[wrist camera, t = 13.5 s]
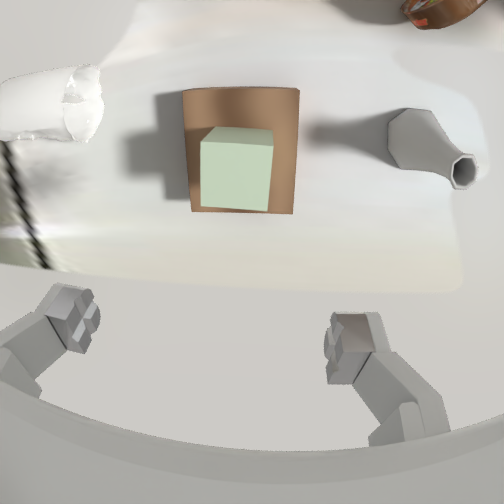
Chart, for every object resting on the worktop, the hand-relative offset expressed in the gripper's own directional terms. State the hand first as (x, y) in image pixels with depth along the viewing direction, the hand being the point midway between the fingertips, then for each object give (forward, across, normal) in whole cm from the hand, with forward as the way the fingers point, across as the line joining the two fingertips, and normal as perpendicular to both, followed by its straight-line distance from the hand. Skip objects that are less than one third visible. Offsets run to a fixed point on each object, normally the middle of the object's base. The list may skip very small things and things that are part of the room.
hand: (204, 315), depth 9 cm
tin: (+24, -18, -20) cm, 36 cm away
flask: (+23, -17, -2) cm, 29 cm away
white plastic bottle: (+23, +24, -5) cm, 34 cm away
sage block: (+20, 0, +1) cm, 20 cm away
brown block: (+24, +1, +1) cm, 24 cm away
